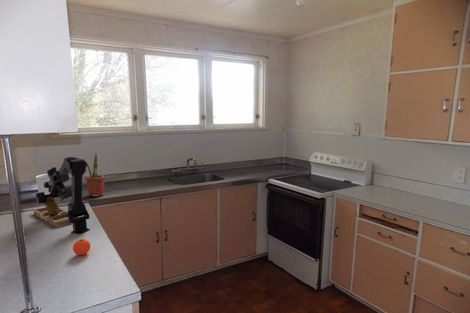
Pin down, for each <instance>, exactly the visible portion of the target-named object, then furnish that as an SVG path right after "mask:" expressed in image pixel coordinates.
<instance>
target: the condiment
mask: <svg viewBox="0 0 470 313" xmlns="http://www.w3.org/2000/svg"><path fill="white" fill-rule="evenodd" d="M44 206H45V207H46V208H47V211H48V214H49V216H53V215H56V214H60V213H62V212H60V210H59V208H60V207H59V203H58V200H57V198H53V199H52V198H49V199H47V201H46V204H45V205H44ZM63 212H65V211H63ZM49 216H48V217H49Z"/></svg>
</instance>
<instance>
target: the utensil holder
mask: <svg viewBox="0 0 470 313" xmlns="http://www.w3.org/2000/svg"><path fill="white" fill-rule="evenodd" d="M35 180H36V187H37V193H40V192H44V194H45V195H48V194H50V192H49V191H48V188H44V186H43V185H44V182H48V181H50V179H49V176H48V174H47V173H44V174H39V175H37V176H35Z"/></svg>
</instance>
